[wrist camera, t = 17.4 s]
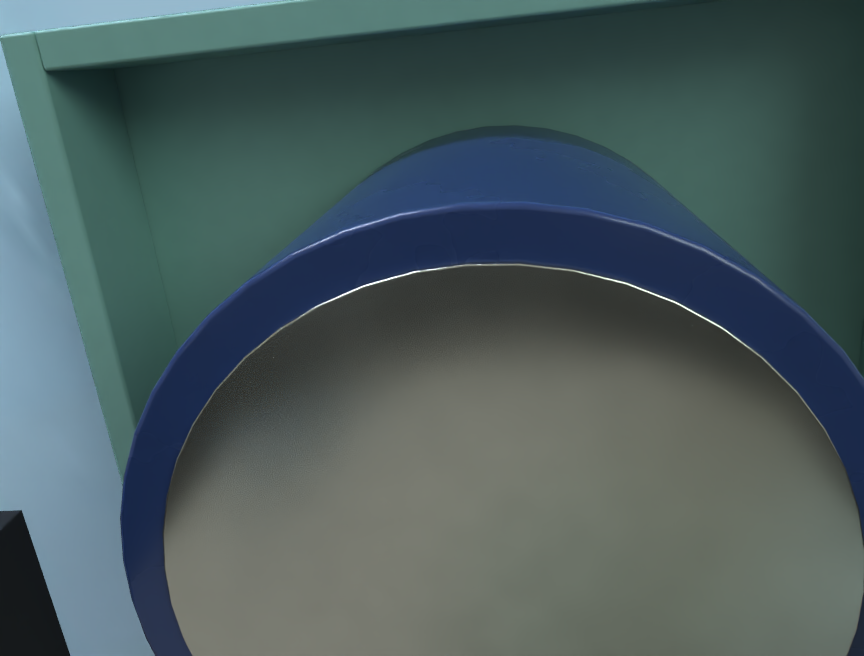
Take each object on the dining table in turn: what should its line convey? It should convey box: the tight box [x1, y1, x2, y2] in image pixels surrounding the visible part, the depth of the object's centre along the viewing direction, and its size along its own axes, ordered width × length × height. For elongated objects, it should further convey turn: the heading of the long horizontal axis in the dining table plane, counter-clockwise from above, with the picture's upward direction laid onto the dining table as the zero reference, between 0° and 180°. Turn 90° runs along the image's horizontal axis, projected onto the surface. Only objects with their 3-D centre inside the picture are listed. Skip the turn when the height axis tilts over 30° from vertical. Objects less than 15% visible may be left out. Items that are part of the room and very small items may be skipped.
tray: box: [0, 0, 864, 485], centre depth 19 cm, size 20×17×4 cm
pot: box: [120, 125, 864, 656], centre depth 15 cm, size 10×11×11 cm
